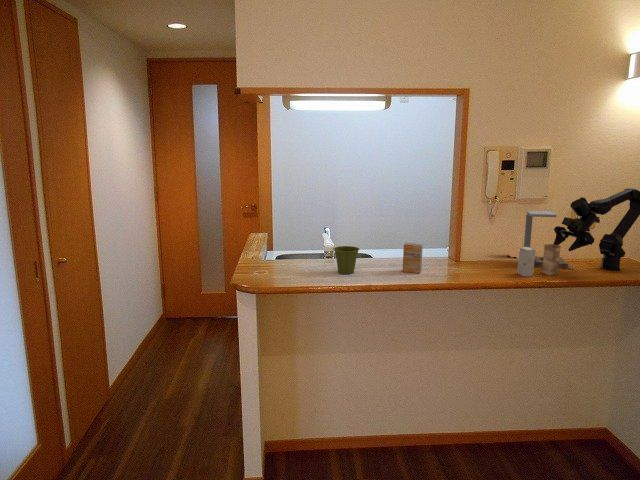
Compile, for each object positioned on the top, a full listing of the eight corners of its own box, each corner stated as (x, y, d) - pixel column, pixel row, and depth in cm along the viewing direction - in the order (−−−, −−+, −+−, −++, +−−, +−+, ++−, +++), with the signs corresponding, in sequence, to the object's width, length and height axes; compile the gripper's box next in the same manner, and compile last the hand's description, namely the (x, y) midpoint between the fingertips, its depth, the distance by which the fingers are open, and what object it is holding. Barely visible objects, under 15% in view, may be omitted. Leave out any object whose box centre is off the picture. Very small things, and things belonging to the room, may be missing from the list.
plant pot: (329, 274, 204) (329, 250, 202) (338, 268, 215) (338, 245, 213) (354, 277, 200) (355, 252, 198) (362, 270, 211) (362, 247, 209)
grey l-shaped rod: (546, 261, 225) (551, 211, 220) (551, 267, 214) (556, 214, 209) (521, 260, 228) (524, 210, 224) (524, 266, 217) (528, 213, 212)
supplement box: (402, 272, 207) (403, 244, 205) (404, 269, 212) (404, 242, 209) (420, 273, 204) (421, 245, 202) (421, 271, 209) (422, 243, 206)
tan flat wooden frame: (565, 261, 225) (566, 257, 224) (573, 269, 209) (574, 264, 209) (526, 259, 229) (526, 255, 229) (531, 267, 214) (532, 262, 214)
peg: (550, 272, 206) (553, 244, 204) (558, 274, 202) (560, 245, 199) (541, 272, 205) (544, 244, 202) (549, 275, 201) (551, 246, 198)
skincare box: (516, 273, 204) (518, 247, 202) (525, 272, 205) (527, 246, 203) (524, 276, 198) (526, 249, 196) (533, 276, 199) (536, 249, 197)
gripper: (559, 208, 209) (536, 233, 209) (592, 213, 192) (567, 240, 191) (571, 224, 213) (549, 249, 212) (605, 231, 195) (581, 257, 194)
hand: (561, 248), depth 202 cm, fingers open, 9 cm apart
